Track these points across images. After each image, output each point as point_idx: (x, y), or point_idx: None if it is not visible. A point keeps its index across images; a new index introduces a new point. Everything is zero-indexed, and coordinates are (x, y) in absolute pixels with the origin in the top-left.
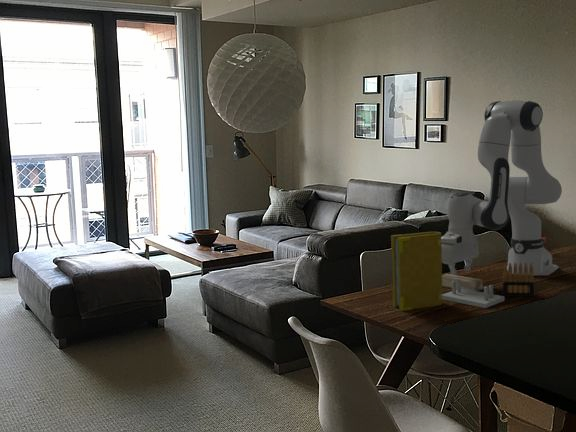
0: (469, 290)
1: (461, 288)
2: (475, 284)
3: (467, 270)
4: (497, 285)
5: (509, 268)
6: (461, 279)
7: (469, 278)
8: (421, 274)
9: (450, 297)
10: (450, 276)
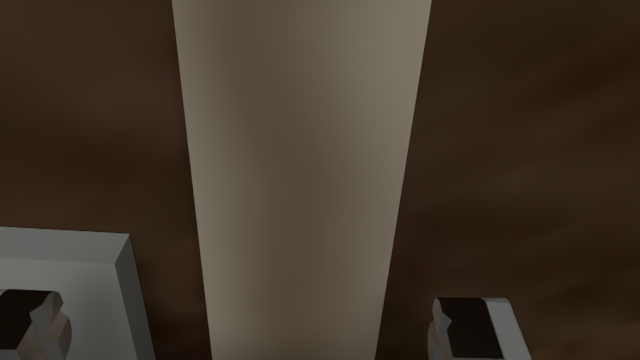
0: (119, 347)
1: (116, 275)
2: None
3: (429, 332)
4: (566, 353)
5: None
6: (229, 264)
7: (341, 307)
8: None
9: None
10: (285, 55)
